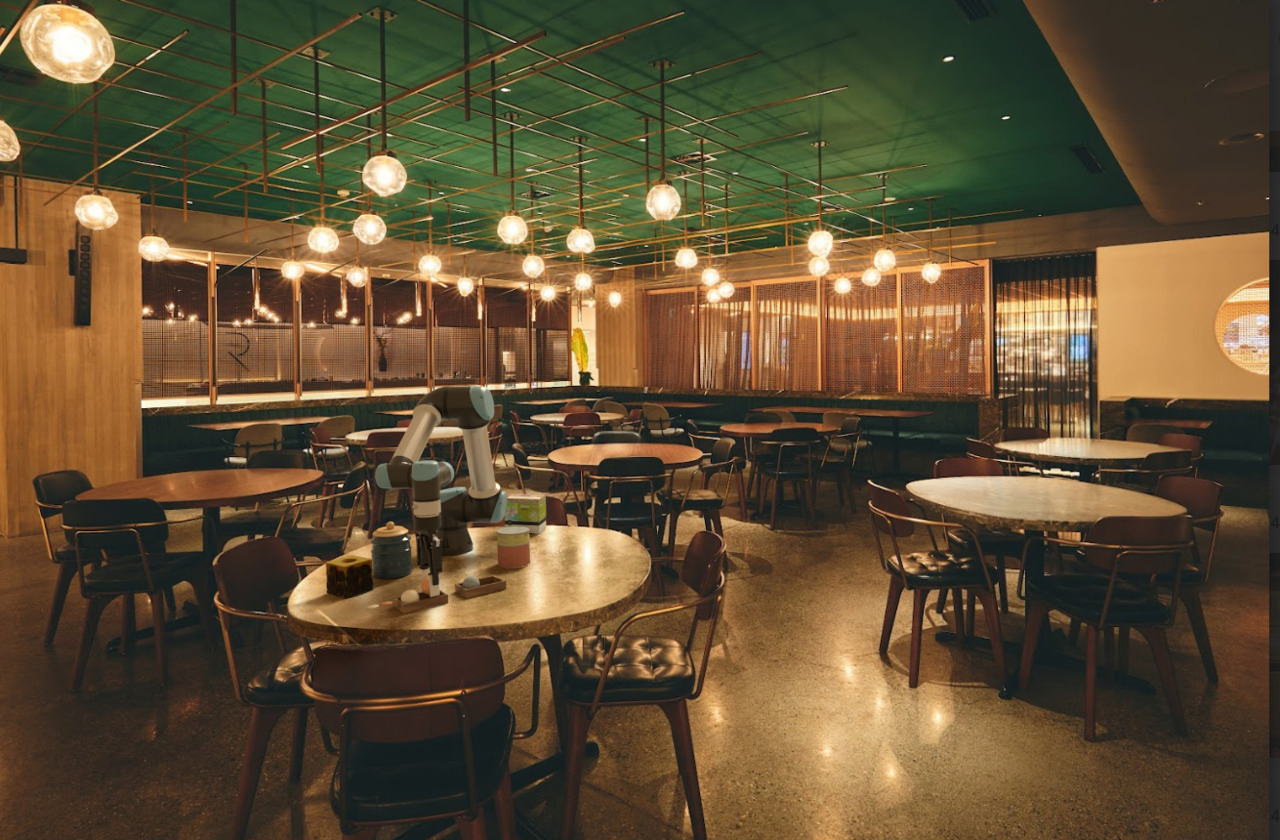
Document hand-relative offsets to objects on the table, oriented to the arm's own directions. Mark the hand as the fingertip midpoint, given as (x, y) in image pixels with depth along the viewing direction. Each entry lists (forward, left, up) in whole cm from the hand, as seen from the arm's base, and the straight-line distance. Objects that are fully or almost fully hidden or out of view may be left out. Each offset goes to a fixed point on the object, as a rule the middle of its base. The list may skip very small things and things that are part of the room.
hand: (430, 593), depth 208 cm
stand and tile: (-10, -4, -3) cm, 11 cm away
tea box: (-59, +67, -4) cm, 89 cm away
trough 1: (0, -3, -3) cm, 4 cm away
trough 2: (0, +16, -3) cm, 16 cm away
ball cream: (0, -6, -3) cm, 7 cm away
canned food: (-20, +39, -4) cm, 44 cm away
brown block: (-28, -14, -4) cm, 32 cm away
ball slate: (0, +13, -3) cm, 13 cm away
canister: (-38, +3, -4) cm, 38 cm away
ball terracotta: (0, 0, 0) cm, 0 cm away
